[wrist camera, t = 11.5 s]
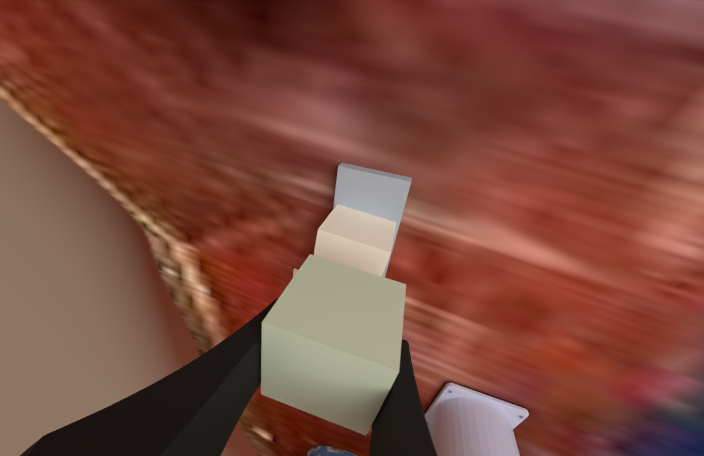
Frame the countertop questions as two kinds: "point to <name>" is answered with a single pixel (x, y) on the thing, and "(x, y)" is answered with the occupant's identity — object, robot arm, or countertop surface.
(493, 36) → the countertop surface
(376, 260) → the brick
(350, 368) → the pale green cube
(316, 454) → the lantern
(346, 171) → the base brick
